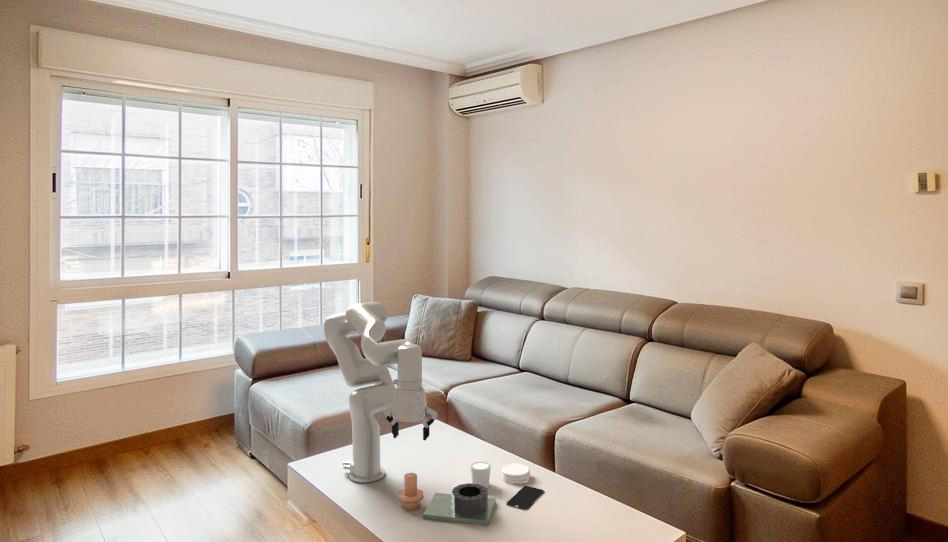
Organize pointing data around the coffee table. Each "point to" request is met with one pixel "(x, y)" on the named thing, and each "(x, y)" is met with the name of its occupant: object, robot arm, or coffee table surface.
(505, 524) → the coffee table surface
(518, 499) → the smartphone
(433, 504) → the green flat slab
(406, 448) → the coffee table surface
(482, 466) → the white grey cylinder
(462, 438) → the coffee table surface
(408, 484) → the cap
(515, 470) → the white short cylinder
